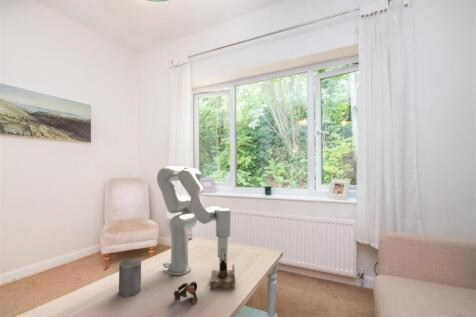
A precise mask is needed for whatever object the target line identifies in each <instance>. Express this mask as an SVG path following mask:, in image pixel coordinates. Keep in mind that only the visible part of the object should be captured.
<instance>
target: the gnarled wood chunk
mask: <svg viewBox="0 0 476 317" xmlns="http://www.w3.org/2000/svg"><path fill="white" fill-rule="evenodd" d="M197 290H198V283H197V282H196V281H191V282H189V283H188V282H184V283H182V284H181V285H179V286H178V287H177V289H175V290H174V292H173V296H174V298H173V299H174V301H179V302H181V298H182V297H183V298H188V295H187V294H190V295H192V296H193V298H192V299H191V303H192V306H194V305H196V303H197V302H198V296H197V293H196V292H197Z"/></svg>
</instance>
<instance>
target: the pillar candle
mask: <svg viewBox="0 0 476 317" xmlns="http://www.w3.org/2000/svg"><path fill="white" fill-rule="evenodd" d="M118 267H119V268H118V295H119V296H120V297H122V298H123V297H124V298H125V297H127V298H128V297H131V296H135V295H137V294H138V293H139V292H141V289H142V259H140V258H127V259H124V260H122V261H120V263H119V265H118Z"/></svg>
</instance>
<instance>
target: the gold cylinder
mask: <svg viewBox="0 0 476 317" xmlns="http://www.w3.org/2000/svg"><path fill="white" fill-rule="evenodd" d="M221 256H222V255H221ZM224 256H225V255H224ZM218 258H219V269H218V270H219V275H220V276H227V270H228V256H227V257H226V271H220V257H218ZM221 259H222V258H221ZM224 259H225V258H224Z"/></svg>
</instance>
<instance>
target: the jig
mask: <svg viewBox="0 0 476 317" xmlns="http://www.w3.org/2000/svg"><path fill="white" fill-rule="evenodd" d="M235 270H236V269H235V264H232V266H231V269H229V270H228V269H227V276H220V275H219V269H218V270H217V269H216V270H211V275H210V280H209V289H210V290H221V289H223V290H225V289H226V290H227V289H230V290H231V289H232V290H233V289H235V288H236V287H235V284H236V282H235V281H236V280H235V278H236V274H235V272H236V271H235Z"/></svg>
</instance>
